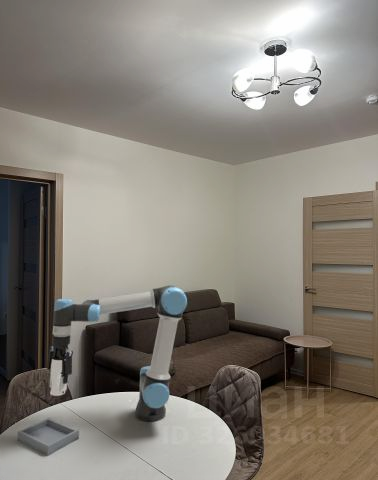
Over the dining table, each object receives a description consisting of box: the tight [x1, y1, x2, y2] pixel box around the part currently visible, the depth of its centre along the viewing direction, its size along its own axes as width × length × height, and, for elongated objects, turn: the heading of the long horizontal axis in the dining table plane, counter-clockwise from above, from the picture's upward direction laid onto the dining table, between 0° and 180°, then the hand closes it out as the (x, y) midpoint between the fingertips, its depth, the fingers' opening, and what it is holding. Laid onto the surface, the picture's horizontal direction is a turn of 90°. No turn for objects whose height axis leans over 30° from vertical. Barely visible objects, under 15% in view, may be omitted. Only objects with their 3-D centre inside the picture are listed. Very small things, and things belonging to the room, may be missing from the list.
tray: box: [16, 417, 80, 456], centre depth 145 cm, size 20×15×4 cm
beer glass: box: [49, 356, 66, 397], centre depth 150 cm, size 7×7×15 cm
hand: (57, 388), depth 150 cm, fingers closed on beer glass, 6 cm apart
